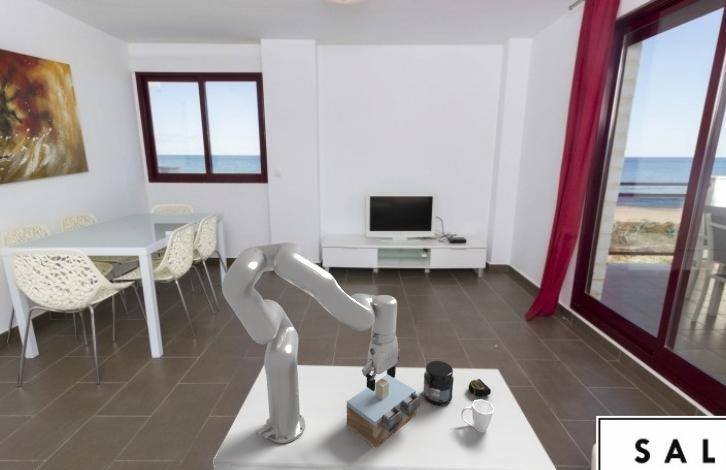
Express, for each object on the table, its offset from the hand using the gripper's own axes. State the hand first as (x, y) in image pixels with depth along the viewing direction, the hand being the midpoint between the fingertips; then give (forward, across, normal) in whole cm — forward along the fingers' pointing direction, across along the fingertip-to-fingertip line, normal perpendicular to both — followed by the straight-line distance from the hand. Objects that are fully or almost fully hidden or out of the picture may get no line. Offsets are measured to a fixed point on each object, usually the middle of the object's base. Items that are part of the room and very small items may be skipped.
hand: (381, 382), depth 116 cm
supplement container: (+14, +24, -7) cm, 29 cm away
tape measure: (+14, +37, -16) cm, 43 cm away
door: (+7, 0, 0) cm, 7 cm away
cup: (+14, +21, -24) cm, 35 cm away
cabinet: (+15, +1, -2) cm, 15 cm away
